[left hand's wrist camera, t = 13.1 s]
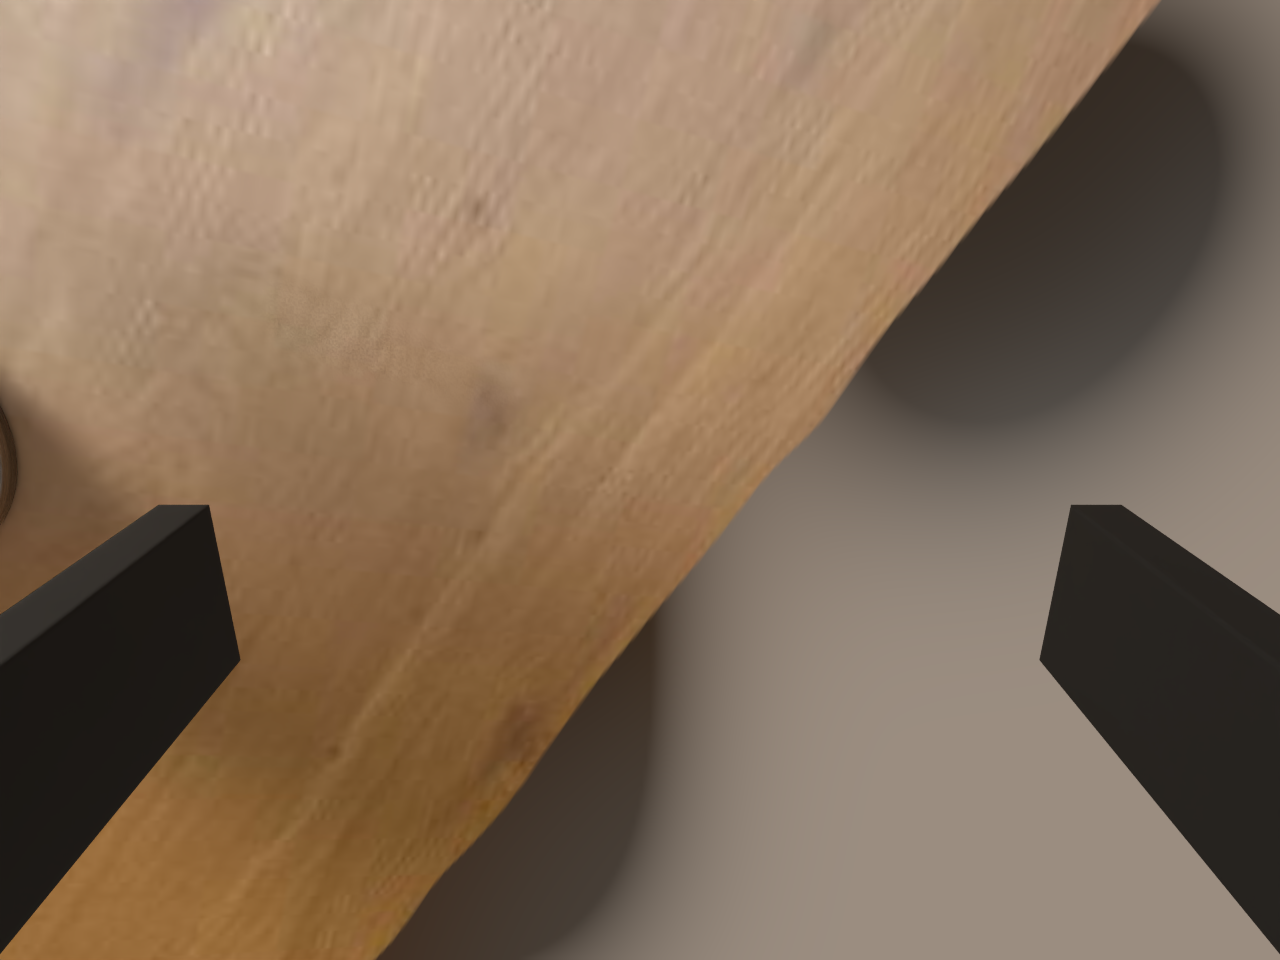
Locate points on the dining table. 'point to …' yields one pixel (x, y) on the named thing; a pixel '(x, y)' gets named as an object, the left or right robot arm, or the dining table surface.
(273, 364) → the dining table surface
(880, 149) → the dining table surface
